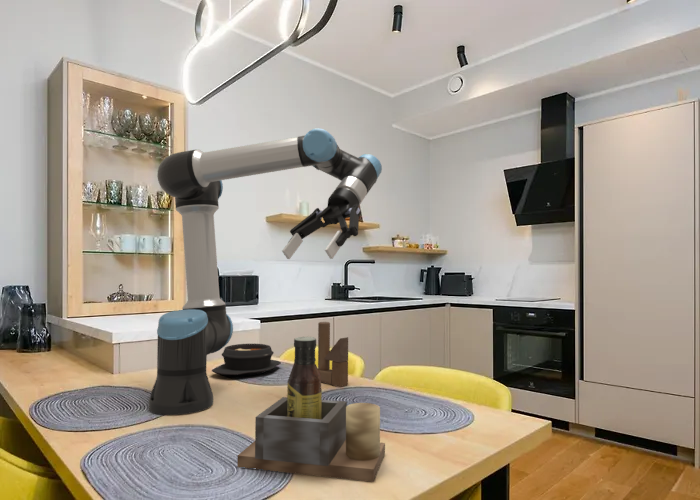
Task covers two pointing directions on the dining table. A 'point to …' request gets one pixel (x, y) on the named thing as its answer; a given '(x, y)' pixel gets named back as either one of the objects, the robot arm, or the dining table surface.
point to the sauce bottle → (304, 382)
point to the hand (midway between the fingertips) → (306, 254)
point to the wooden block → (332, 357)
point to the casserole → (246, 360)
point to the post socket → (318, 441)
